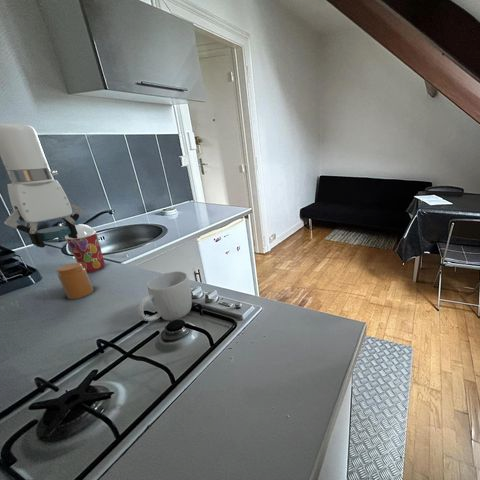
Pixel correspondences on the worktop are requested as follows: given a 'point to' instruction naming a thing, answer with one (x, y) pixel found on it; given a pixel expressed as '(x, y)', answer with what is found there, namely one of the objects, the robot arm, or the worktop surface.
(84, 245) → the smoothie
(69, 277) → the jam jar
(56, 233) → the jar lid
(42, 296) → the worktop surface
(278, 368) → the worktop surface
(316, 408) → the worktop surface
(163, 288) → the mug
